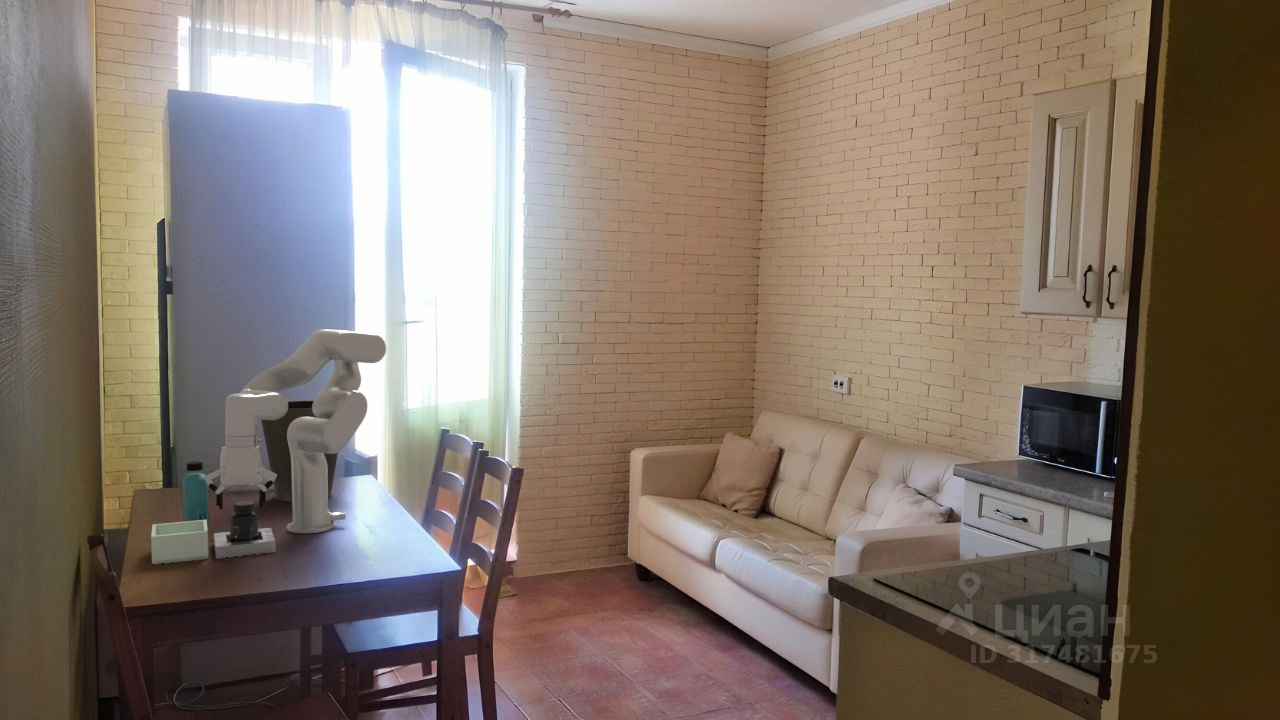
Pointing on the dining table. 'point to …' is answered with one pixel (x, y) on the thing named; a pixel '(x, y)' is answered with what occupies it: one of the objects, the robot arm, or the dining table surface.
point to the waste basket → (281, 453)
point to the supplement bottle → (243, 522)
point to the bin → (179, 541)
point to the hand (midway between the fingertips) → (241, 507)
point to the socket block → (244, 544)
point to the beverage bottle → (195, 494)
